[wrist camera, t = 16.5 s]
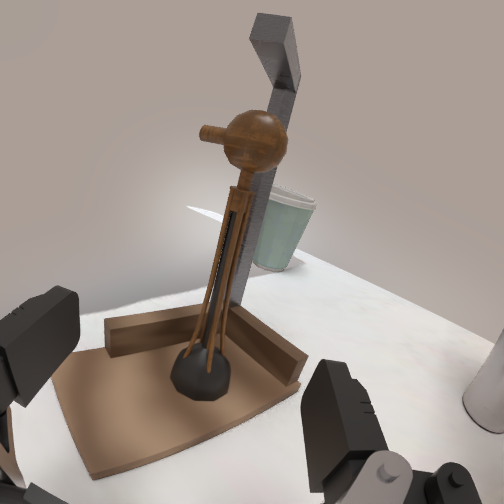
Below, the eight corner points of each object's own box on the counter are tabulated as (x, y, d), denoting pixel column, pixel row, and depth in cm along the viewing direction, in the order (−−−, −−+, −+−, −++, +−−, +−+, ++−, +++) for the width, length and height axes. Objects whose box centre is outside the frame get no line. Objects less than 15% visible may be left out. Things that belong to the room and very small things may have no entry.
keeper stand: (223, 329, 31) (288, 75, 23) (297, 391, 24) (400, 82, 16) (47, 364, 18) (89, -3, 10) (92, 480, 11) (167, -102, 3)
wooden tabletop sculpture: (148, 375, 20) (193, 93, 15) (179, 349, 25) (227, 111, 19) (214, 410, 19) (294, 108, 13) (238, 377, 23) (309, 126, 17)
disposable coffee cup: (282, 258, 62) (302, 189, 58) (305, 280, 52) (330, 200, 48) (235, 251, 58) (253, 177, 54) (251, 275, 49) (274, 186, 44)
